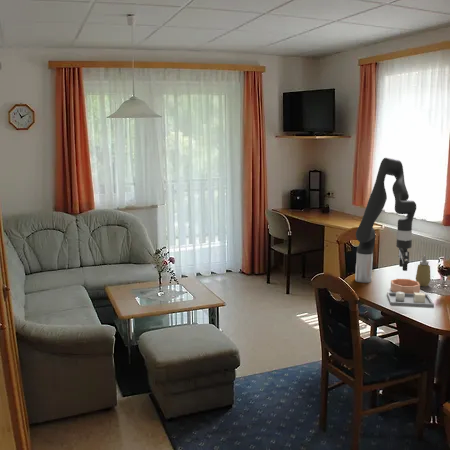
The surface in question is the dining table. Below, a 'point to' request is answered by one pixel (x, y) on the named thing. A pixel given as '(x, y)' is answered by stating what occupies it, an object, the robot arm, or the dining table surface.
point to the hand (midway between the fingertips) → (403, 268)
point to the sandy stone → (419, 297)
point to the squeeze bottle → (423, 272)
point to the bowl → (405, 286)
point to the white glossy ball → (400, 296)
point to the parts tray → (409, 300)
